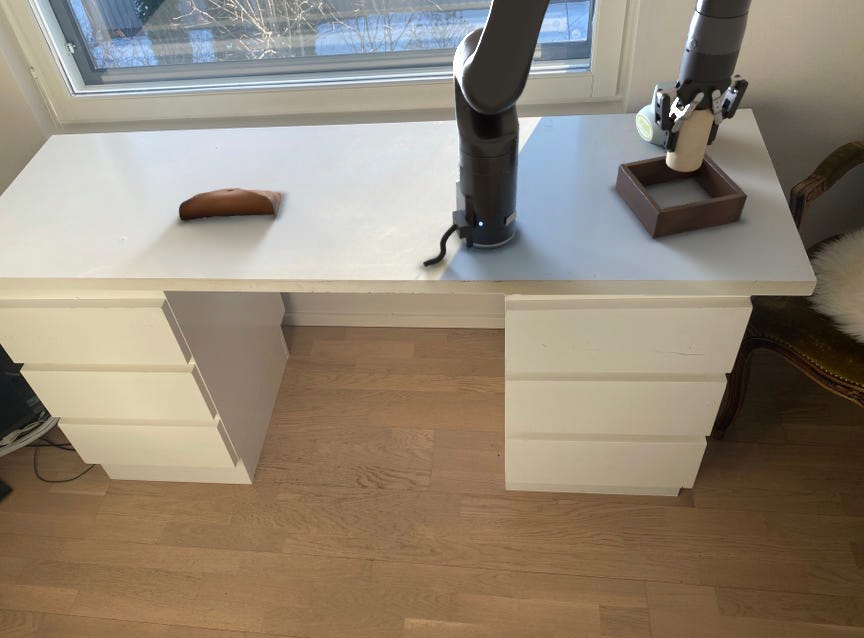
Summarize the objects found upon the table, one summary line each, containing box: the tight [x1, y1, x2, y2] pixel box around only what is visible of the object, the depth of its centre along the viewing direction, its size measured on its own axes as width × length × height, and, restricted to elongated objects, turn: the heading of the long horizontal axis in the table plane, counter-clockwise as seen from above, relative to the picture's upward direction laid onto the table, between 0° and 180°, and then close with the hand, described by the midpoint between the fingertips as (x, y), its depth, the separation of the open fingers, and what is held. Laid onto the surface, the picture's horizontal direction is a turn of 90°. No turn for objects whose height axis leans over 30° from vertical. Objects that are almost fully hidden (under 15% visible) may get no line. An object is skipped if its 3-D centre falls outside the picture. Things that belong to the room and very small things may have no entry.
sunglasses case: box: [178, 187, 282, 221], centre depth 134 cm, size 18×7×7 cm
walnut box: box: [614, 152, 748, 239], centre depth 121 cm, size 15×15×5 cm
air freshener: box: [635, 80, 683, 146], centre depth 134 cm, size 11×8×10 cm
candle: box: [666, 107, 714, 172], centre depth 114 cm, size 6×6×10 cm
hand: (687, 146), depth 115 cm, fingers closed on candle, 5 cm apart
